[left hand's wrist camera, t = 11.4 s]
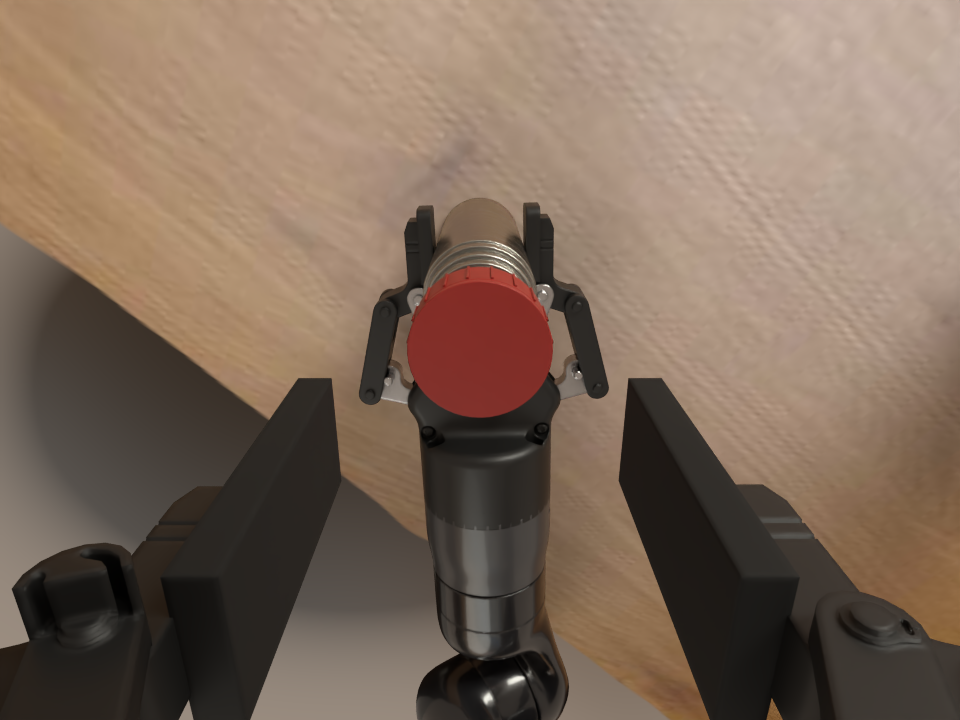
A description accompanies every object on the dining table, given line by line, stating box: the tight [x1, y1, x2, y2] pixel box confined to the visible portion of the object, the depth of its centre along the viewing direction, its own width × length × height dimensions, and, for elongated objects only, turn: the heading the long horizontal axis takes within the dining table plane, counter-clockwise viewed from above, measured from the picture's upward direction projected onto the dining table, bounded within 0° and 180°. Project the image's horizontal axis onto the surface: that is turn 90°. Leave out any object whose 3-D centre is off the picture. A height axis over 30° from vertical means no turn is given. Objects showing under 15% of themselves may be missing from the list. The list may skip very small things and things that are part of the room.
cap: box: [407, 266, 553, 418], centre depth 20 cm, size 5×5×2 cm
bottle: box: [423, 198, 537, 297], centre depth 29 cm, size 5×5×20 cm
